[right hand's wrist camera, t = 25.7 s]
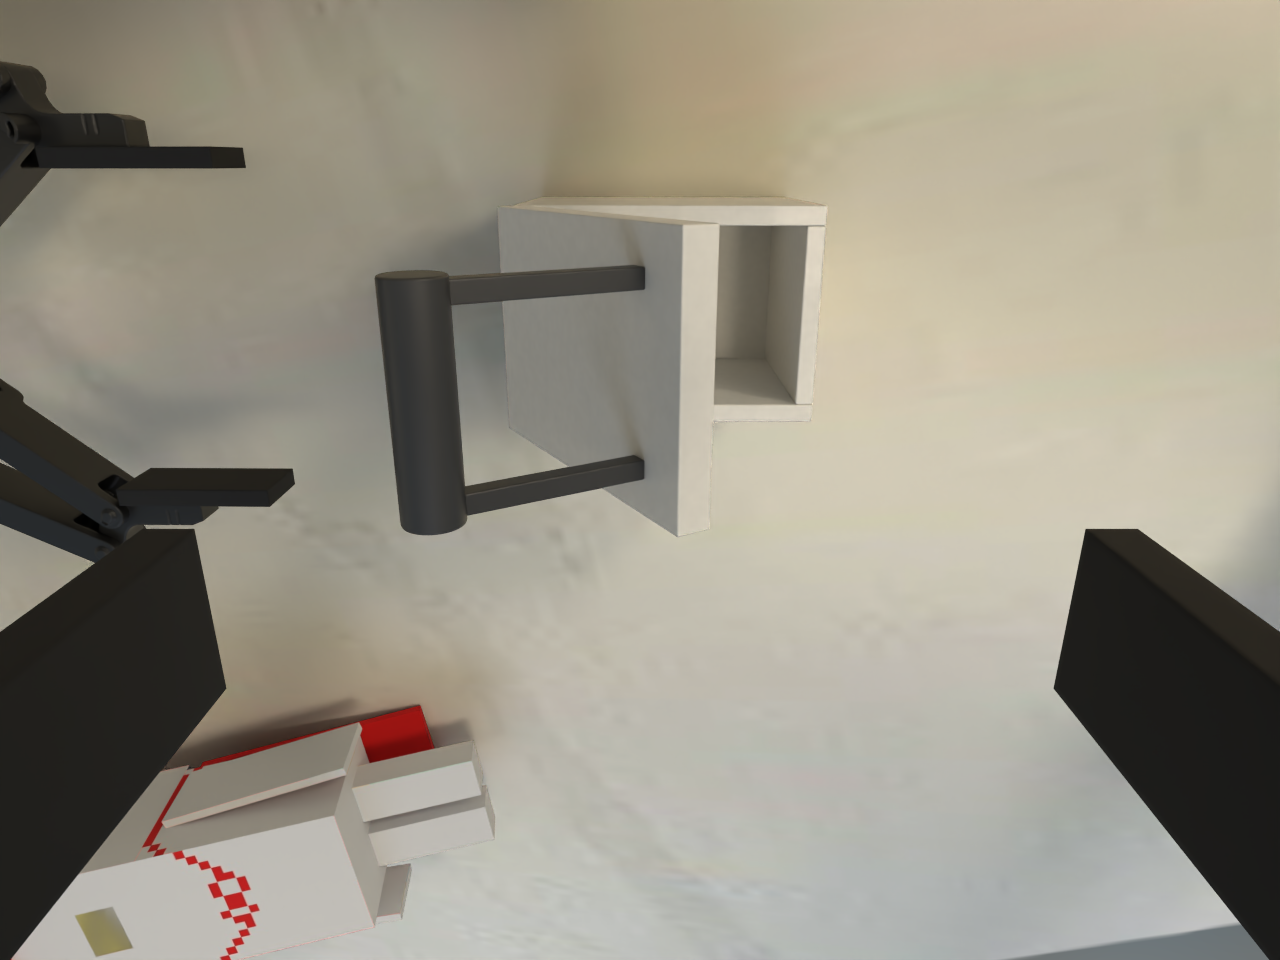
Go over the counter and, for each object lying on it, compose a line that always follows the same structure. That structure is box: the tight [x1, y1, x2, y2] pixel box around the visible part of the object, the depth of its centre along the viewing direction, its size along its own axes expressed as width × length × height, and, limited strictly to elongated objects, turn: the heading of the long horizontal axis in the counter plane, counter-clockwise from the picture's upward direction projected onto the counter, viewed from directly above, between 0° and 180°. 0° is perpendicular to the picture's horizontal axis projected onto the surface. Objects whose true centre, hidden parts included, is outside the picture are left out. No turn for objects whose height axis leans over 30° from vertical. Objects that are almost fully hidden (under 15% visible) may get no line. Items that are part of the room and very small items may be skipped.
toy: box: [11, 706, 495, 960], centre depth 55 cm, size 12×13×30 cm
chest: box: [514, 197, 828, 422], centre depth 42 cm, size 13×10×11 cm
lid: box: [375, 205, 720, 537], centre depth 29 cm, size 14×10×9 cm
